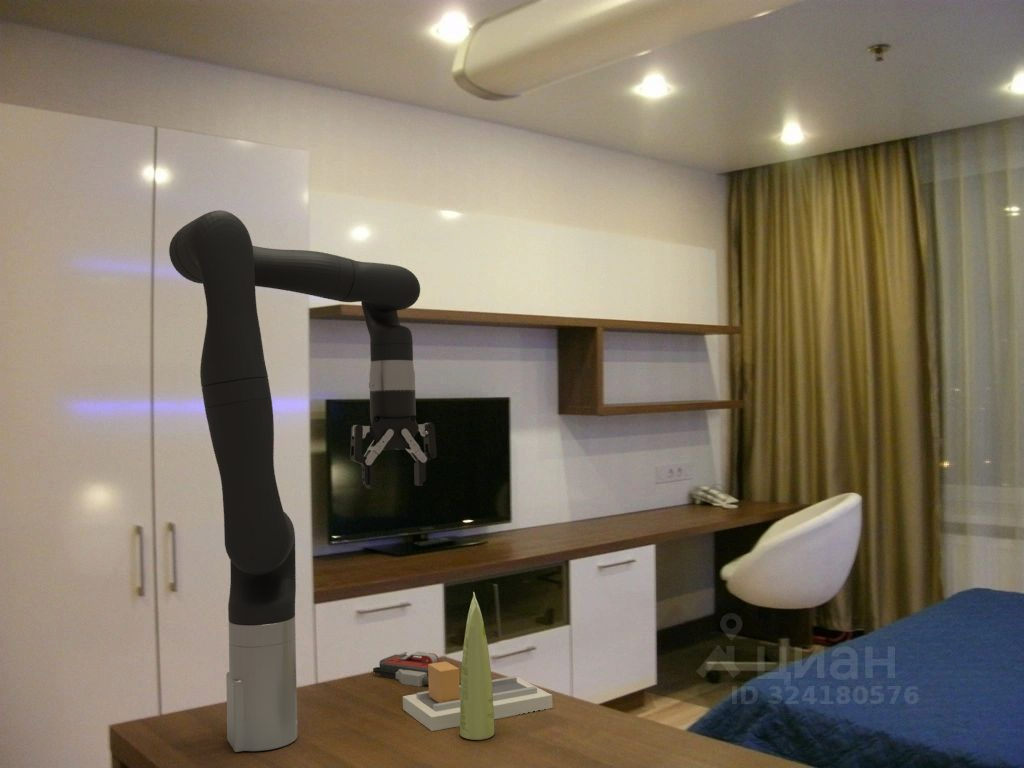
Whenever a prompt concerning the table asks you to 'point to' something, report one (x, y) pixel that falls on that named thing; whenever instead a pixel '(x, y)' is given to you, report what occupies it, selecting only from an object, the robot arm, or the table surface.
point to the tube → (476, 680)
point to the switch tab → (443, 682)
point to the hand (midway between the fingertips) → (394, 486)
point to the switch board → (507, 701)
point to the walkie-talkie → (408, 668)
